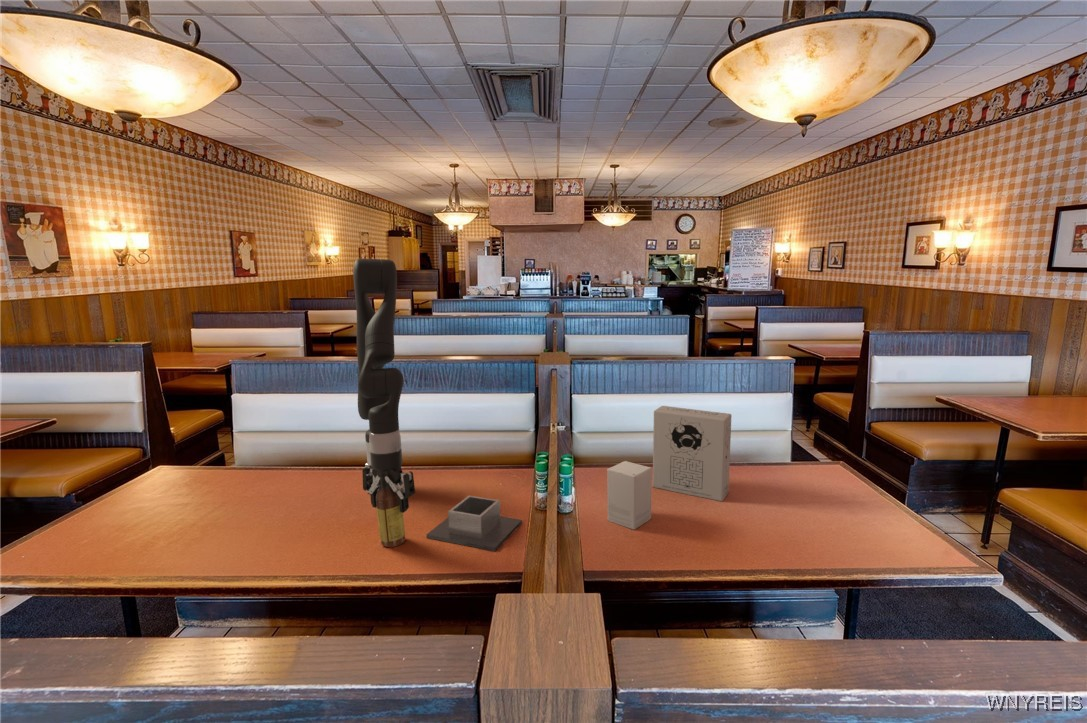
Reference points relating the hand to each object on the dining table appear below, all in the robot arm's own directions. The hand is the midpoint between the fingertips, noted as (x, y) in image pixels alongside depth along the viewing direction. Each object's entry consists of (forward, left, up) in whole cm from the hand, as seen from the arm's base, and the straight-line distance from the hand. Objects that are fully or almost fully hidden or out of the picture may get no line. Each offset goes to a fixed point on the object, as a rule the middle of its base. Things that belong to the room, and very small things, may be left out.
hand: (390, 508), depth 135 cm
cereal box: (+67, +59, -9) cm, 90 cm away
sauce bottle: (0, 0, -9) cm, 9 cm away
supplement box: (+54, +33, -9) cm, 64 cm away
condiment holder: (+17, +13, -9) cm, 23 cm away
